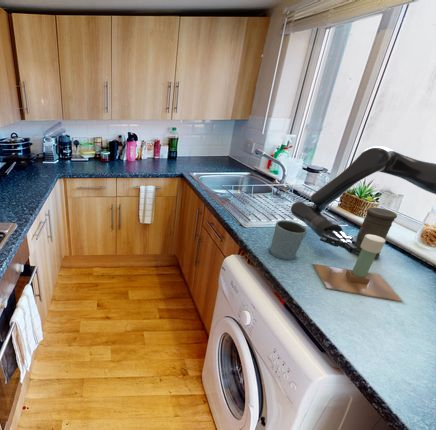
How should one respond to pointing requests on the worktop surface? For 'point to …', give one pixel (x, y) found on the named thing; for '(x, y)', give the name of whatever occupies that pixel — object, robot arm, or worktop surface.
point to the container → (375, 225)
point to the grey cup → (287, 239)
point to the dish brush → (365, 258)
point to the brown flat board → (340, 282)
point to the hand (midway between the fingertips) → (354, 251)
